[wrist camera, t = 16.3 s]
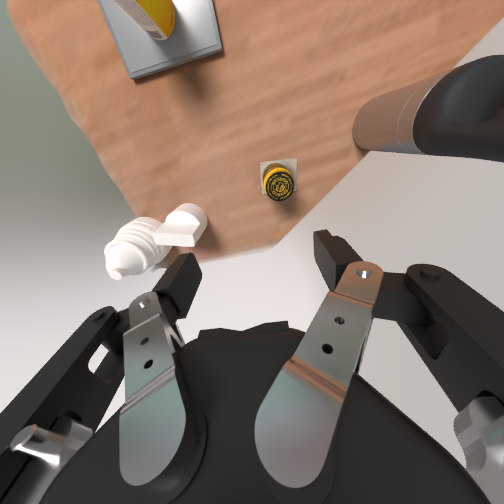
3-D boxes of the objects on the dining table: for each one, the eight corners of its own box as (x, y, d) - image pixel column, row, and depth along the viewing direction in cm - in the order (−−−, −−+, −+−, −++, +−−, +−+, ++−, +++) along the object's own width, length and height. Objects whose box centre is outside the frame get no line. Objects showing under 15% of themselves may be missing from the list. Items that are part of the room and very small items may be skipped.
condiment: (259, 162, 41) (260, 169, 31) (296, 157, 41) (309, 163, 30) (262, 194, 45) (263, 209, 35) (296, 190, 44) (307, 205, 34)
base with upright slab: (177, 233, 52) (157, 255, 41) (172, 202, 47) (148, 219, 37) (208, 235, 52) (196, 258, 42) (206, 204, 47) (191, 221, 37)
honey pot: (159, 212, 48) (114, 244, 33) (180, 251, 55) (150, 293, 40) (118, 222, 50) (58, 257, 35) (143, 259, 57) (101, 302, 42)
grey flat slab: (198, -66, 26) (196, -75, 25) (222, 51, 32) (221, 47, 31) (92, -20, 28) (85, -27, 27) (133, 80, 34) (129, 78, 33)
